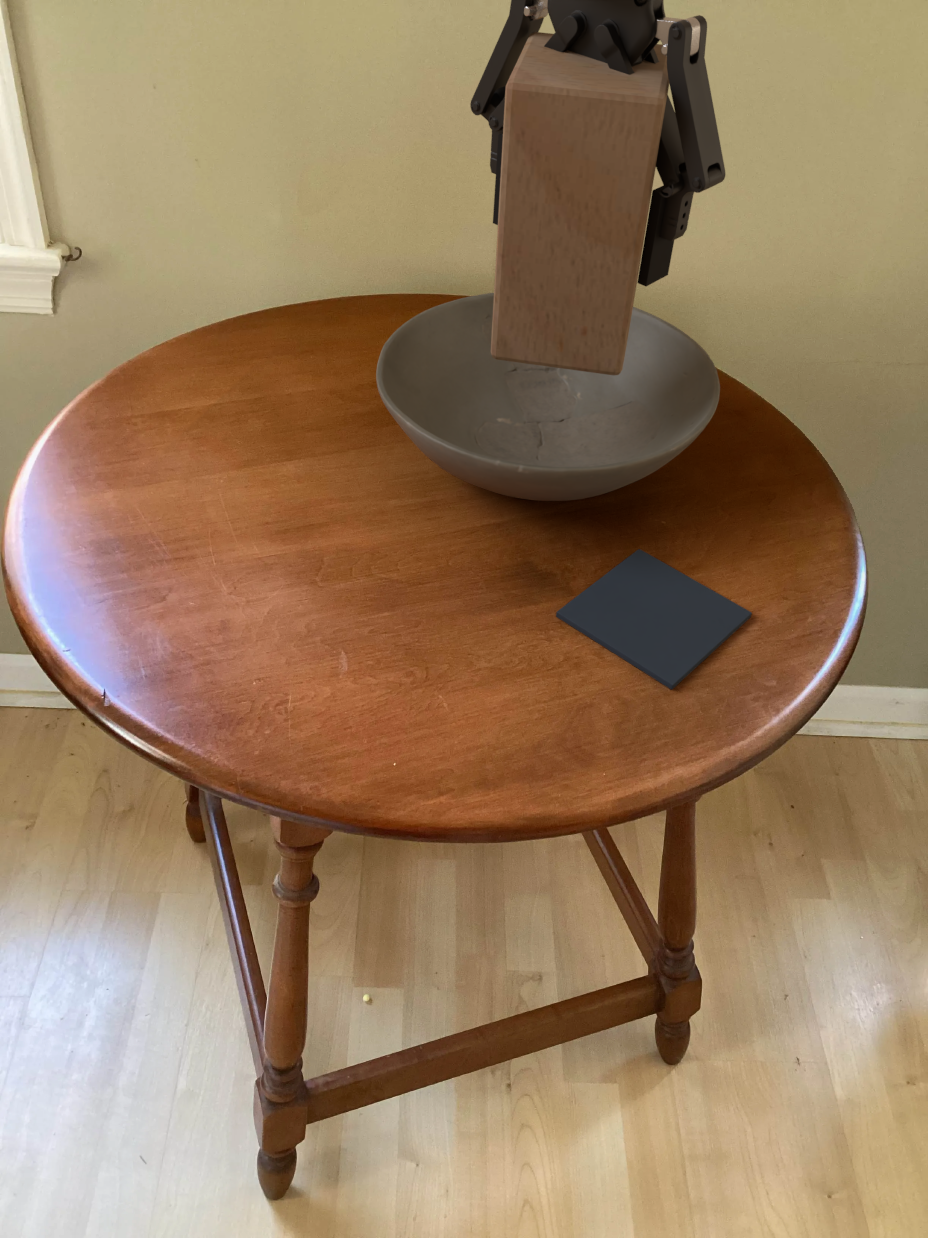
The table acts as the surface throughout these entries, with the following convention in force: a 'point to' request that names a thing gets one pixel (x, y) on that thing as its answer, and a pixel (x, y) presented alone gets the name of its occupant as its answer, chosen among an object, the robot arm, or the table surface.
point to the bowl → (543, 405)
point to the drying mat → (654, 617)
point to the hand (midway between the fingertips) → (577, 248)
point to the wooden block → (573, 206)
